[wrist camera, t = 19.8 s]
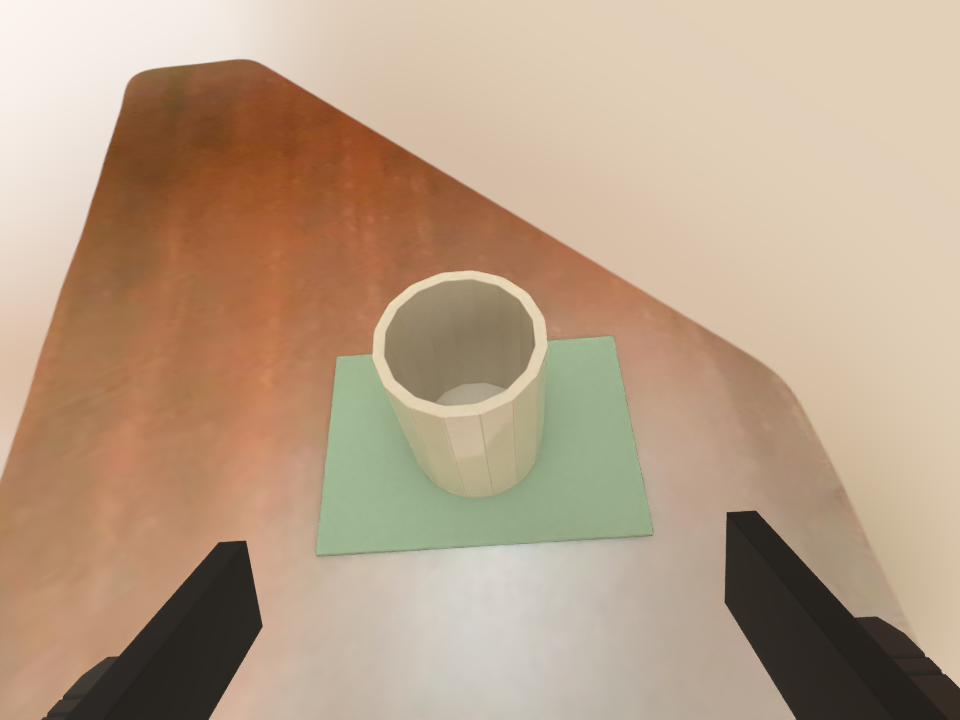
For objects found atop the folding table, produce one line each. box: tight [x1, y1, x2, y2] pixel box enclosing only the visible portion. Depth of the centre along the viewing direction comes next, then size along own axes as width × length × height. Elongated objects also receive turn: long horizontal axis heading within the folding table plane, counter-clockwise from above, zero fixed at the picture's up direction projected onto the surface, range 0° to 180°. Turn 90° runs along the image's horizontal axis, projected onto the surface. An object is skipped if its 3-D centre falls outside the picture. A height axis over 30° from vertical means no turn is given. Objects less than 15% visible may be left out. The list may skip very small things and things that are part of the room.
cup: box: [372, 270, 548, 498], centre depth 32 cm, size 8×8×12 cm
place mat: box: [316, 336, 653, 556], centre depth 37 cm, size 20×14×1 cm
